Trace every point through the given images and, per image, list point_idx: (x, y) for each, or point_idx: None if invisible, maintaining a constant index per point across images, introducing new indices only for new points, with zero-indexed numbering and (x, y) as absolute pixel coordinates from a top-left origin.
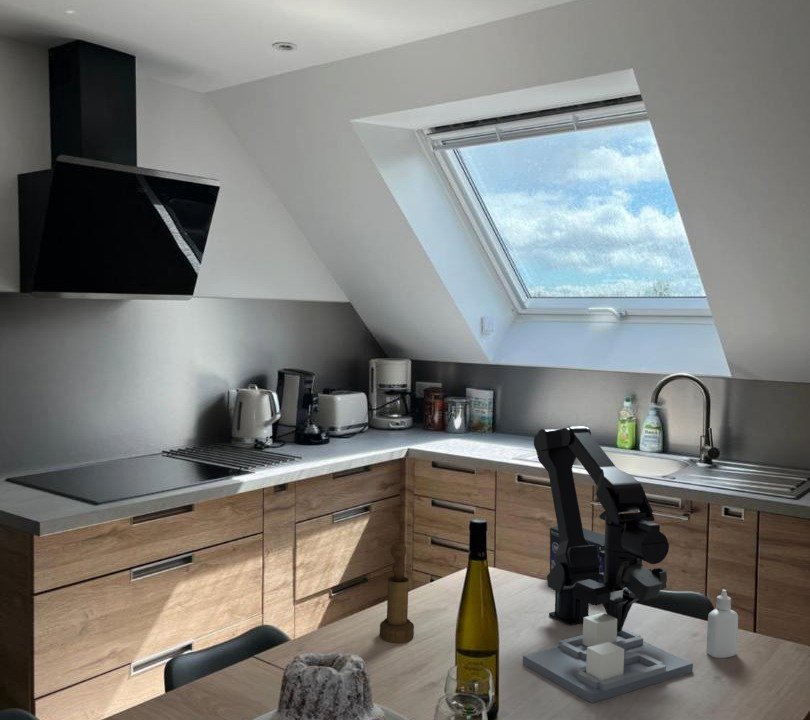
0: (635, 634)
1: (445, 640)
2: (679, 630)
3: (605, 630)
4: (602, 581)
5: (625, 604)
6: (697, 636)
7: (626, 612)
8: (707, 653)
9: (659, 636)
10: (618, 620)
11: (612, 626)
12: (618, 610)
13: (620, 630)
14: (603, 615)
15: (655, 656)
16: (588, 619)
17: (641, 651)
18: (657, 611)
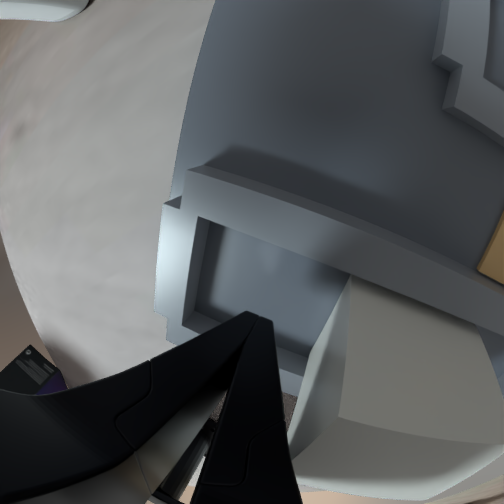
0: (171, 233)
1: (446, 498)
2: (23, 175)
3: (453, 383)
4: (41, 388)
5: (122, 467)
6: (21, 119)
7: (154, 386)
8: (86, 2)
9: (69, 192)
10: (272, 385)
11: (395, 380)
12: (272, 483)
13: (253, 315)
14: (330, 475)
15: (331, 20)
16: (450, 486)
17: (324, 114)
18: (14, 266)
